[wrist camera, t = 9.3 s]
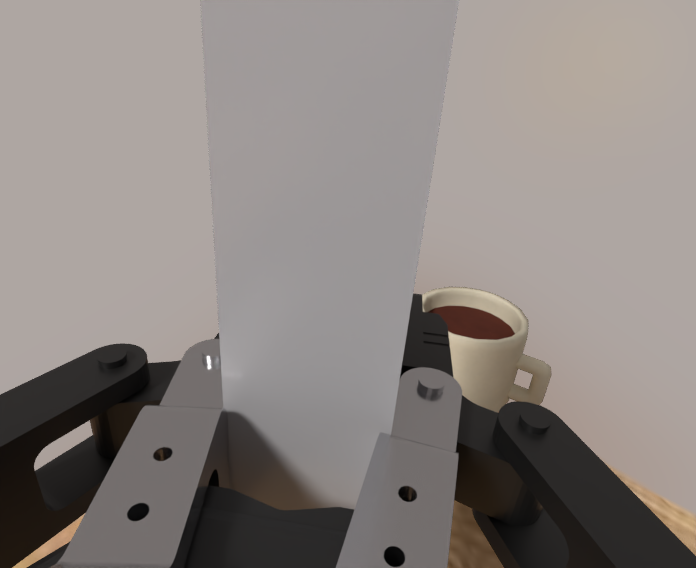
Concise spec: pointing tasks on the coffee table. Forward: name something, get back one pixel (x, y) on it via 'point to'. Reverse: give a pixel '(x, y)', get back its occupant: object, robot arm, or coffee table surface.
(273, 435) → the clay strip
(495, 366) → the character mug
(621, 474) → the coffee table surface
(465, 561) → the coffee table surface
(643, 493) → the coffee table surface
